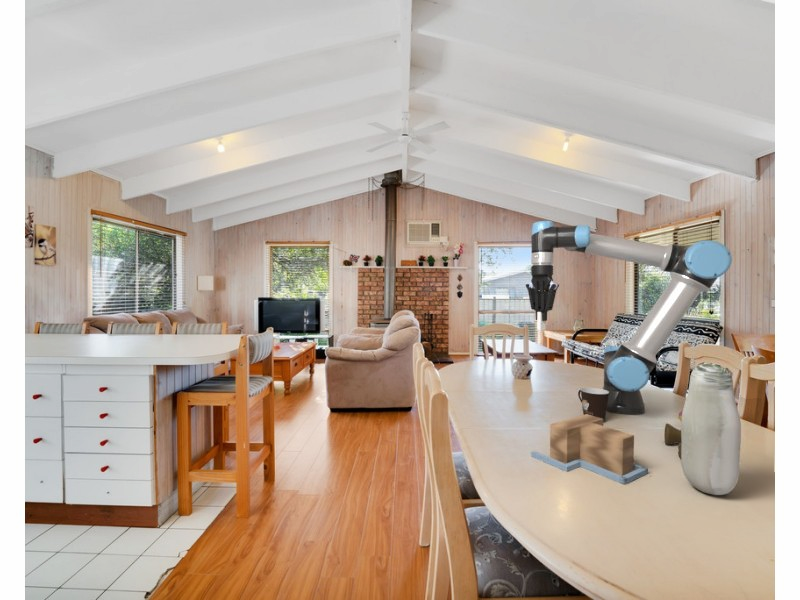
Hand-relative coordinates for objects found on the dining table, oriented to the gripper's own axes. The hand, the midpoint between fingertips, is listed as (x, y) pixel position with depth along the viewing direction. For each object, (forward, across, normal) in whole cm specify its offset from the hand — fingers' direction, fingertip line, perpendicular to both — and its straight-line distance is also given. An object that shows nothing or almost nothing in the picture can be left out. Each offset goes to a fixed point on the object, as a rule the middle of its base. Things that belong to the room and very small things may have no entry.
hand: (541, 329), depth 147 cm
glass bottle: (+30, +59, -17) cm, 68 cm away
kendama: (+30, +46, +3) cm, 55 cm away
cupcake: (+30, +41, +21) cm, 55 cm away
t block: (+29, +37, -24) cm, 53 cm away
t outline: (+29, +37, -25) cm, 53 cm away
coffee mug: (+30, +16, +7) cm, 34 cm away
